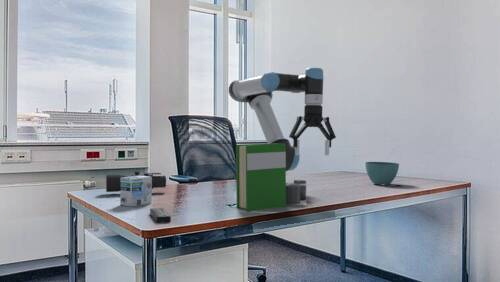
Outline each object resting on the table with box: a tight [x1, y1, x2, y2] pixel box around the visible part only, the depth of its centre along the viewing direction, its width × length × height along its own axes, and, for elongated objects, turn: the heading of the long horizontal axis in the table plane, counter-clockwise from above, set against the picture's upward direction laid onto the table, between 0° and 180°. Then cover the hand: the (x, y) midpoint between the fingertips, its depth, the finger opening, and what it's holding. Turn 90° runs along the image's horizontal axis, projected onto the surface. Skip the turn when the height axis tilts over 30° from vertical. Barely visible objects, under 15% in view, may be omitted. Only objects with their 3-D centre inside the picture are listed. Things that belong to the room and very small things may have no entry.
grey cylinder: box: [286, 182, 300, 206], centre depth 164 cm, size 9×9×8 cm
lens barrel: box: [293, 179, 307, 201], centre depth 172 cm, size 5×5×8 cm
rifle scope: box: [105, 171, 167, 193], centre depth 186 cm, size 10×26×10 cm, turn 110°
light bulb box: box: [119, 174, 153, 208], centre depth 158 cm, size 11×7×11 cm, turn 148°
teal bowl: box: [364, 161, 400, 186], centre depth 230 cm, size 18×18×12 cm
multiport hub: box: [149, 207, 172, 224], centre depth 134 cm, size 4×14×2 cm, turn 22°
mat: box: [286, 199, 307, 206], centre depth 168 cm, size 12×16×1 cm
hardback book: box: [235, 143, 287, 213], centre depth 153 cm, size 18×7×24 cm, turn 124°
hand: (312, 155), depth 172 cm, fingers open, 13 cm apart
